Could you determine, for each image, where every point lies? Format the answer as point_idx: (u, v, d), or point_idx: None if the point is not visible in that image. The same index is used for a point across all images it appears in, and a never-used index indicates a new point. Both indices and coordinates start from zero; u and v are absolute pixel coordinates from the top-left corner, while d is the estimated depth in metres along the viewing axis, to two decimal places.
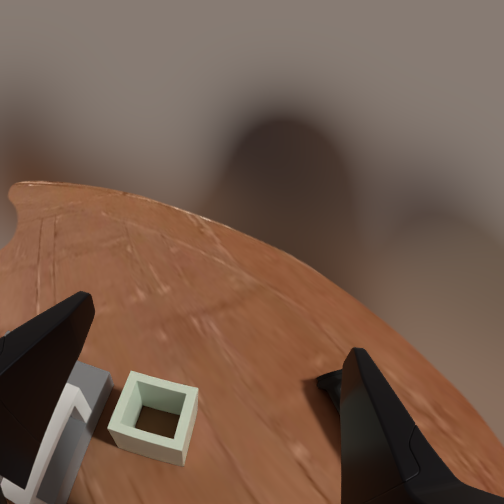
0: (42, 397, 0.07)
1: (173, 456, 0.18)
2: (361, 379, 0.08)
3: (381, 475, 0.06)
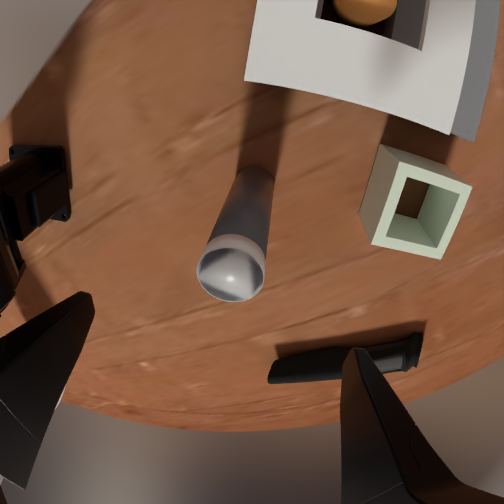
0: (42, 397, 0.07)
1: (367, 220, 0.19)
2: (361, 379, 0.08)
3: (381, 475, 0.06)
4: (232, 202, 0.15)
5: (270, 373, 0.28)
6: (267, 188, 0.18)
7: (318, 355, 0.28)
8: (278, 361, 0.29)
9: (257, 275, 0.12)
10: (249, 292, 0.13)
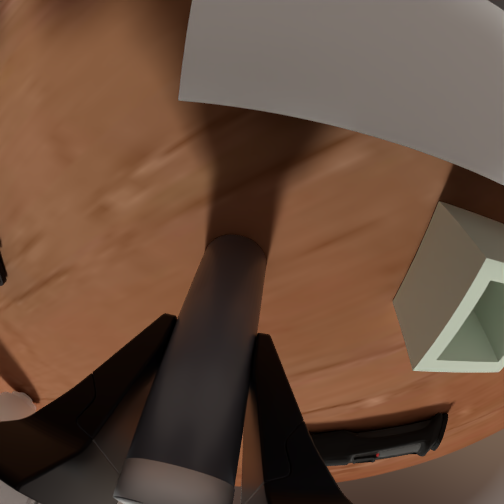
0: (133, 433, 0.07)
1: (410, 325, 0.11)
2: (253, 365, 0.08)
3: (256, 471, 0.06)
4: (180, 345, 0.08)
5: None
6: (252, 289, 0.11)
7: (321, 440, 0.20)
8: None
9: None
10: None
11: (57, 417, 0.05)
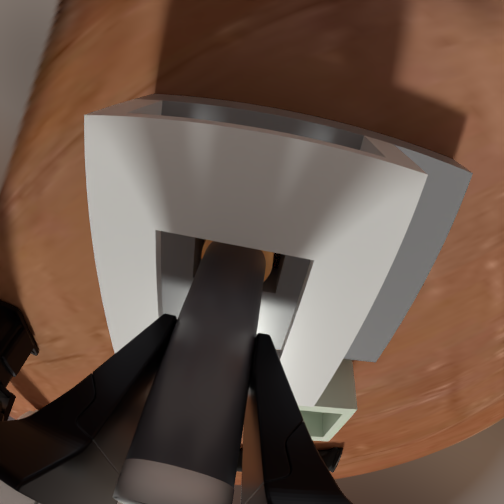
0: (133, 434, 0.07)
1: None
2: (253, 365, 0.08)
3: (256, 471, 0.06)
4: (180, 346, 0.08)
5: None
6: (251, 290, 0.11)
7: None
8: None
9: None
10: None
11: (57, 417, 0.05)
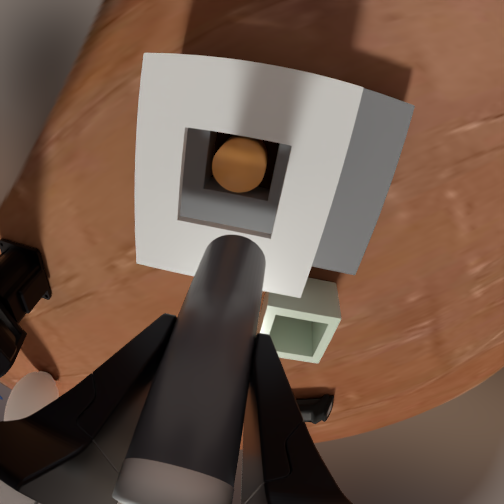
0: None
1: (257, 330, 0.25)
2: (253, 365, 0.08)
3: (256, 471, 0.06)
4: (180, 345, 0.08)
5: None
6: (251, 289, 0.11)
7: None
8: None
9: None
10: None
11: (57, 417, 0.05)
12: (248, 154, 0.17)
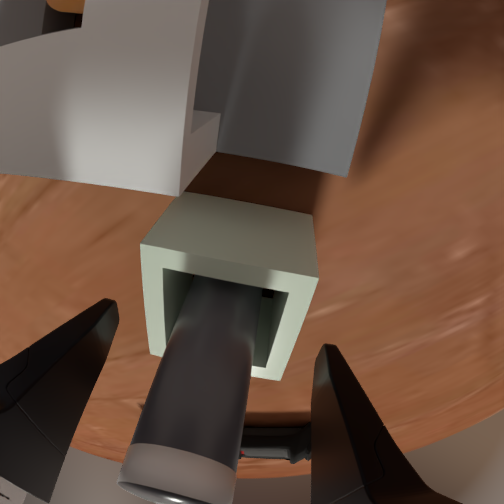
0: (68, 409, 0.07)
1: None
2: (328, 376, 0.08)
3: (344, 477, 0.06)
4: (184, 334, 0.08)
5: None
6: None
7: None
8: None
9: None
10: None
11: None
12: None
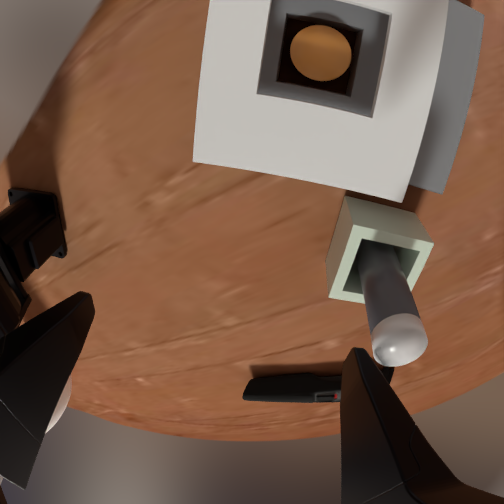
0: (42, 397, 0.07)
1: (329, 271, 0.20)
2: (361, 379, 0.08)
3: (381, 476, 0.06)
4: (381, 271, 0.16)
5: (245, 391, 0.30)
6: (393, 248, 0.18)
7: (291, 379, 0.30)
8: (254, 380, 0.30)
9: (422, 347, 0.13)
10: (410, 359, 0.13)
11: None
12: (332, 38, 0.12)
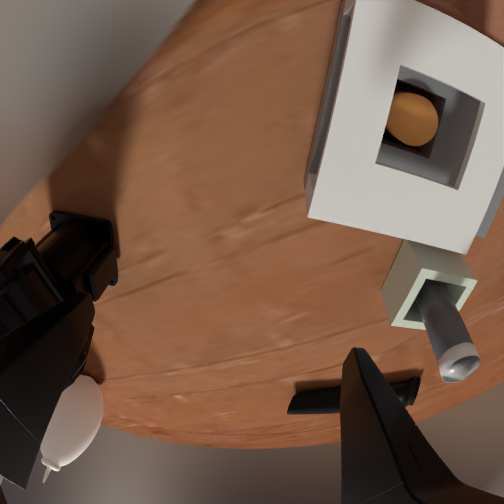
0: (42, 397, 0.07)
1: (389, 302, 0.22)
2: (361, 379, 0.08)
3: (381, 475, 0.06)
4: (441, 306, 0.18)
5: (290, 406, 0.32)
6: (443, 283, 0.20)
7: (332, 393, 0.31)
8: (297, 396, 0.32)
9: (475, 366, 0.14)
10: (465, 376, 0.15)
11: None
12: (425, 108, 0.14)
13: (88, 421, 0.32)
